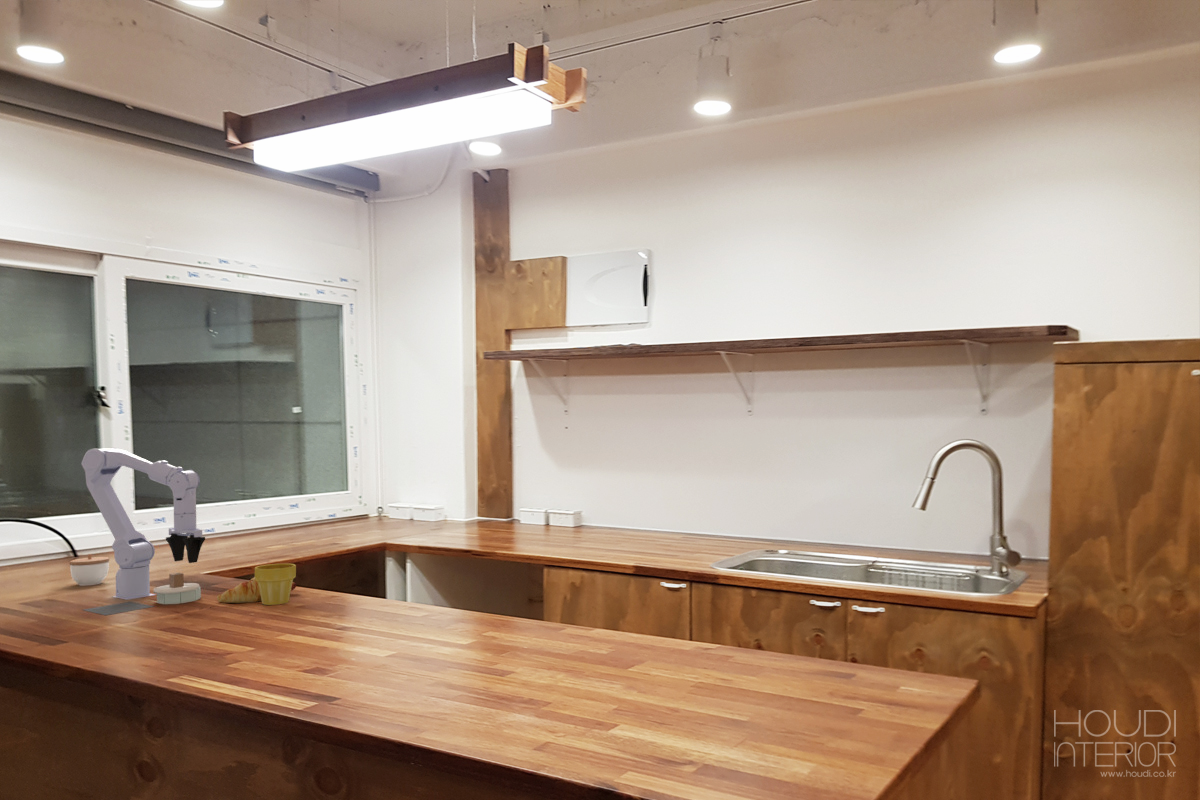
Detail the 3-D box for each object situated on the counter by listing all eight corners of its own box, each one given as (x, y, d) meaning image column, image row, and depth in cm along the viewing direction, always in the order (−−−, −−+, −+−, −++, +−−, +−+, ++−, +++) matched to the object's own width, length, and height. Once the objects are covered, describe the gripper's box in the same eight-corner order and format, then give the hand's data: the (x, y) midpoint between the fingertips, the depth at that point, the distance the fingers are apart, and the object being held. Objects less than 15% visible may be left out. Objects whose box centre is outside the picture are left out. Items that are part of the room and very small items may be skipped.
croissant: (221, 619, 224) (225, 594, 222) (209, 597, 231) (213, 573, 228) (300, 605, 238) (304, 581, 236) (287, 584, 245) (291, 561, 242)
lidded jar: (117, 580, 273) (116, 551, 274) (94, 586, 263) (93, 556, 263) (86, 581, 274) (85, 552, 275) (61, 587, 264) (61, 557, 264)
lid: (145, 591, 231) (145, 575, 231) (186, 584, 239) (186, 569, 240) (165, 595, 224) (165, 578, 224) (207, 588, 233) (206, 572, 233)
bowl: (151, 603, 231) (151, 590, 231) (188, 597, 239) (187, 584, 239) (169, 607, 225) (169, 594, 225) (206, 600, 233) (206, 587, 233)
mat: (82, 612, 223) (82, 609, 223) (130, 603, 232) (129, 601, 232) (105, 617, 214) (105, 615, 214) (154, 608, 224) (154, 606, 224)
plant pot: (301, 598, 232) (301, 562, 232) (289, 605, 222) (288, 568, 222) (263, 599, 232) (262, 563, 232) (249, 607, 221) (248, 569, 222)
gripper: (157, 514, 241) (158, 562, 241) (184, 515, 233) (185, 565, 232) (182, 511, 247) (182, 558, 247) (209, 513, 239) (210, 561, 238)
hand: (185, 561), depth 240 cm, fingers open, 7 cm apart
